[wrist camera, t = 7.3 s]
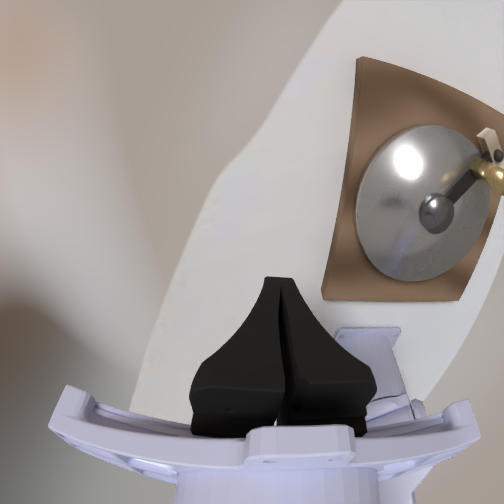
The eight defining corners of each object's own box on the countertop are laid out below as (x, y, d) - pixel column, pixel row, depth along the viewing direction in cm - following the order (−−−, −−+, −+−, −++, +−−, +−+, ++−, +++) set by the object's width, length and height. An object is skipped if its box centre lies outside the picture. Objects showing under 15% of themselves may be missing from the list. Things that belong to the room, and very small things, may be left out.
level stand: (453, 292, 25) (466, 311, 22) (320, 289, 25) (326, 314, 22) (505, 119, 14) (528, 126, 11) (356, 58, 15) (372, 52, 12)
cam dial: (404, 296, 23) (422, 332, 19) (317, 203, 19) (330, 234, 15) (500, 205, 17) (530, 228, 13) (441, 85, 13) (481, 88, 9)
